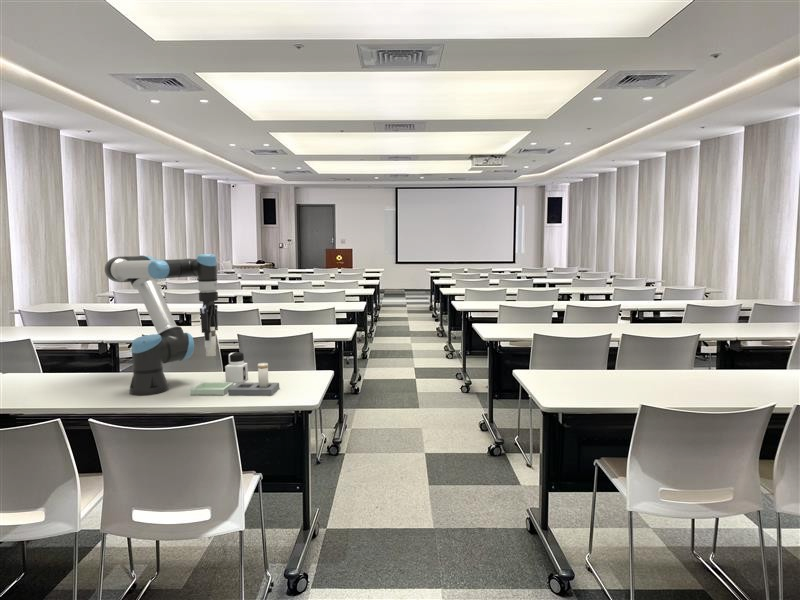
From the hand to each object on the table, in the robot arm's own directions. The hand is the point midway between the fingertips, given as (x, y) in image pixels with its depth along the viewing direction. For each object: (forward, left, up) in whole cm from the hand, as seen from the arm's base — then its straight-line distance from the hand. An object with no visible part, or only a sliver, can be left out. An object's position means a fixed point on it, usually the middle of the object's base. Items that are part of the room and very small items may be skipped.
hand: (210, 346), depth 243 cm
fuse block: (+18, 0, -19) cm, 26 cm away
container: (+4, +19, -19) cm, 27 cm away
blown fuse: (0, 0, -4) cm, 4 cm away
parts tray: (0, 0, -19) cm, 19 cm away
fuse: (+22, 0, -19) cm, 29 cm away
